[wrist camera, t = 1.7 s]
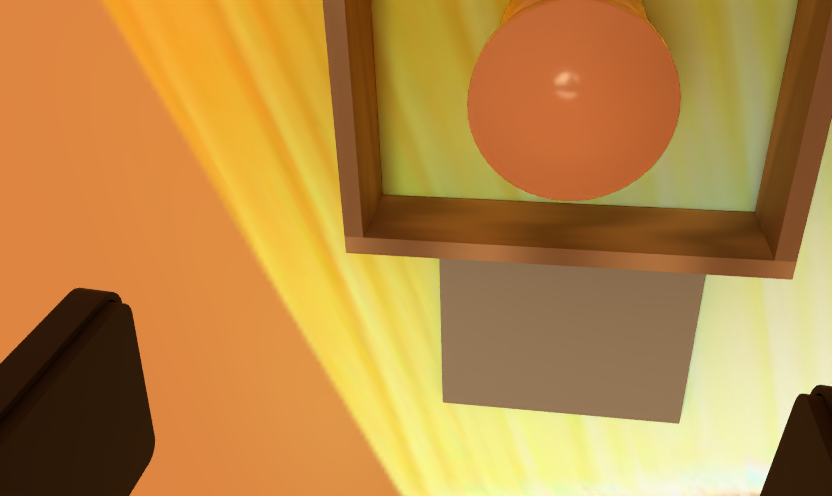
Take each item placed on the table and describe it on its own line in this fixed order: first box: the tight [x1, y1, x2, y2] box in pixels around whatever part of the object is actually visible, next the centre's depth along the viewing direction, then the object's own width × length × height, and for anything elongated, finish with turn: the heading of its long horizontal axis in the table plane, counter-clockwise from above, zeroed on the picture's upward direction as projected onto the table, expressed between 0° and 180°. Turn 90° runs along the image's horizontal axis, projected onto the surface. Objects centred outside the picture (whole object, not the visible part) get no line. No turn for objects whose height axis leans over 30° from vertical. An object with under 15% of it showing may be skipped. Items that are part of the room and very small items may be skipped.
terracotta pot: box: [467, 0, 681, 201], centre depth 29 cm, size 7×7×7 cm
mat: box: [440, 258, 706, 423], centre depth 39 cm, size 12×9×1 cm
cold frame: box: [323, 0, 832, 279], centre depth 30 cm, size 18×16×5 cm
